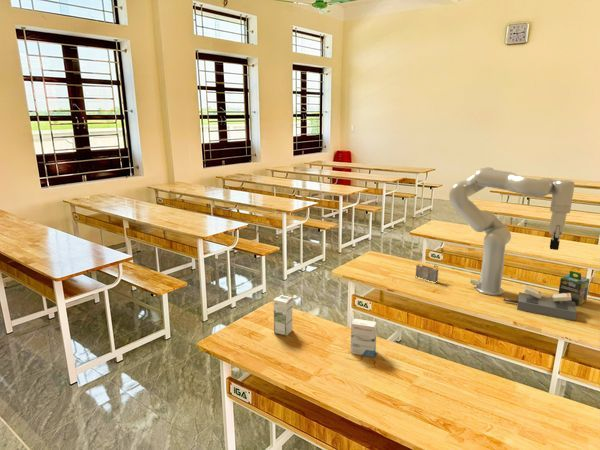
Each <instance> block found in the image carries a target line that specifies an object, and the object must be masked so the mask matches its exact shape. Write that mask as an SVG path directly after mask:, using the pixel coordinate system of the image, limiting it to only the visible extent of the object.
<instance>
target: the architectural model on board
mask: <svg viewBox="0 0 600 450" xmlns="http://www.w3.org/2000/svg"><path fill="white" fill-rule="evenodd" d="M439 266H440V265H436V264H434V265H433V267H430V266H428V265H427V266H426V265H423V264H422V265H420V264H417V265H416V268H415V277H416V276H417V277H420V278H423V279H426V280H429V281H433V282H436V281H437V282H438V277H439V269H438V268H439Z"/></svg>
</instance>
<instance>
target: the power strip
mask: <svg viewBox="0 0 600 450" xmlns="http://www.w3.org/2000/svg"><path fill="white" fill-rule="evenodd" d="M503 301H504V302H508V303H513V304H517V306H516V310H518V311H523V312H527V313H534V314H539V315H543V316H548V317H553V318H558V319H564V320H568V321H574V322H576V319H577V313H578V311H577V306H576V305H575V302H571V301H553V297H549V296H544V295H542V296H541V298H537V297H535V296H533V295H530V294H528V293H526V292H521V291H519V292H518V300H514V299H510V298H505V297H504V298H503Z"/></svg>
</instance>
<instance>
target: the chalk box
mask: <svg viewBox="0 0 600 450" xmlns="http://www.w3.org/2000/svg"><path fill="white" fill-rule="evenodd" d="M590 280H591V279H590V278H587V277H583V276H582V274H581V273H580V272H578V271H574V270H570V271H569V274H566V275H564V276H562V277H561V278H560V280H559V287H558V292H557V294H562V293H570V294H571V300H568V301H571V302H575V305H576V307H579V306H581V305H582V304H585V303H586V302H587V299H588V292H589V286H590Z"/></svg>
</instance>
